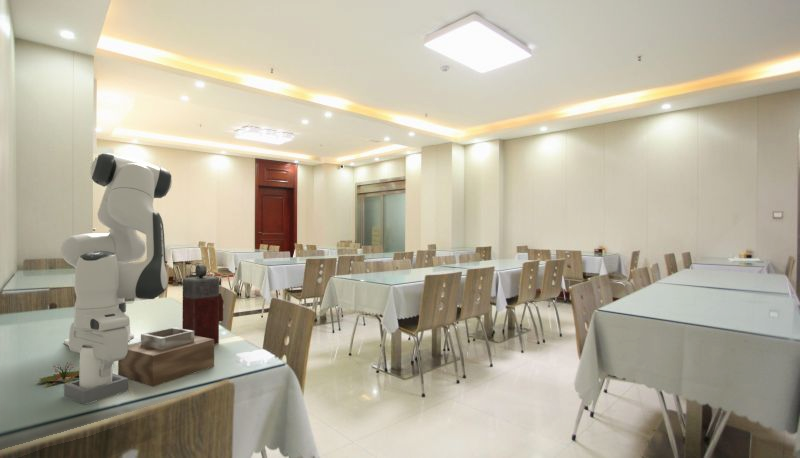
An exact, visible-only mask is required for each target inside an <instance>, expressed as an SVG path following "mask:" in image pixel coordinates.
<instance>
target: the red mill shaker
mask: <svg viewBox="0 0 800 458" xmlns="http://www.w3.org/2000/svg"><path fill="white" fill-rule="evenodd" d="M195 266H196V267H195V272H194V273H195V275H196V276H192V277H184V278H183V279H182V328H181V329H186V330H192V331H194V336H199V337H205V338H210V339H214V345H218V344H219V343H220V342H219V341H220V322H223V321H224V299H223V297H222V296H223V295H222V293H220V279H219V278H218V277H214V276H210V275H209V276H207V273H208V270H207V269H208V268H207V266H206V265H205V264H197V265H195Z"/></svg>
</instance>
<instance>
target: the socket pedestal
mask: <svg viewBox="0 0 800 458" xmlns="http://www.w3.org/2000/svg"><path fill="white" fill-rule="evenodd" d="M117 362H118V363H117V375H120V376H123V377H126V378H129V381H132V382H135V383H140V384H143V385H144V386H149V387H152V388H153V387H156V386H159V385H162V384H166V383H169V382H172V381H174V380H178V379H180V378H183V377H187V376H190V375H193V374H196V373H198V372H202V371H204V370H208V369H210V368H213V367H215V344H214V339H210V338H205V337H199V336H194V331H192V330H186V329H182V328H181V327H175V326H174V327H168V328H164V329H160V330H159V329H158V330H154V331H150V332H145V333H144V332H143V333H141V334H140V341H139V342H135V343H134V342H133V343H131V344H128V352H127V355H126V357H125V358H124V359H122V360H118V361H117Z"/></svg>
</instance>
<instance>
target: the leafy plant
mask: <svg viewBox="0 0 800 458" xmlns="http://www.w3.org/2000/svg"><path fill="white" fill-rule="evenodd" d="M68 363H69V362H67V363H66V365H65V367H64V368H62V366H61V365H60V364H59V363H58V364H57V366H56V365H53V366H52V367H53V368H54V372H55V374H53V375H49V376H45V377H41V378H39V380H40V381H39V382H38V383H36V385H40V384H43V383H45V388H47V387H50V386H53V385H56V384H61V383H64V384H66V383H69V382H73V381H76V379H79V370H75V371H72V369H74V368H75V366H72V365H73V363H72V362H70V363H69V364H68ZM61 364H62V365H64V363H63V362H62V363H61ZM71 366H72V367H71ZM70 367H71V368H70ZM69 368H70V369H69ZM58 369H59V370H58ZM66 378H67V379H66ZM56 382H57V383H56Z"/></svg>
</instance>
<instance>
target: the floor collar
mask: <svg viewBox="0 0 800 458" xmlns="http://www.w3.org/2000/svg"><path fill="white" fill-rule="evenodd" d="M129 381H130V380H129V378H126V377H123V376H120V375H118V374H116V373H113V372H112V382H110V383H106V384H103V385H100V386H96V387H93V388H90V389H85V388H83V387H80V386H79V379H76V380H72V381H71V382H69V383H63V397H65V398H67V399H69V400H73V401H74V402H76V403H79V404H82V405H87V404H90V403H93V402H96V400H97V401H99V400H103V399H106V398H109V397H113V396H114V395H118V394H121V393H125V392H127V390H128V391H129V390H130V389H129V383H130V382H129Z"/></svg>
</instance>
